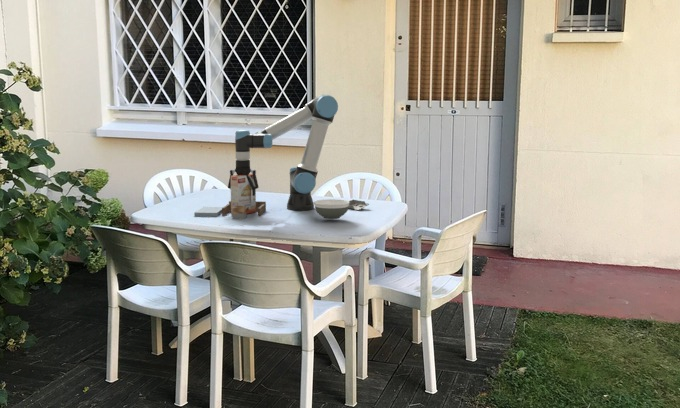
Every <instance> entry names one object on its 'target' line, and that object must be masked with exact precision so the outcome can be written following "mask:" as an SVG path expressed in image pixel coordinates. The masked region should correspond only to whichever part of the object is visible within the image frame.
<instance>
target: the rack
mask: <svg viewBox="0 0 680 408" xmlns="http://www.w3.org/2000/svg"><path fill="white" fill-rule="evenodd" d="M266 203H267V202H266V201H258V200H256V212H257V216H258V217H261V216H262V215H263V214H264V213H265V212H266V211H267V204H266ZM222 207H223V208H222V213H221V216H223V217H224V216H226V215H227V214H228V213H231V200H229V201H228V203H227V204H226V205H224V206H222Z"/></svg>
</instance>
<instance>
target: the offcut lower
mask: <svg viewBox="0 0 680 408" xmlns="http://www.w3.org/2000/svg"><path fill="white" fill-rule="evenodd" d="M231 215H232V216H231V217H232V219H233V220H240V219H241V220H244V219H245V218H247V214H246V212H245V213H244V214H233V213H232V214H231Z"/></svg>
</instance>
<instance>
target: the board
mask: <svg viewBox="0 0 680 408" xmlns="http://www.w3.org/2000/svg"><path fill="white" fill-rule="evenodd" d="M223 207H224V206H202V207H201V208H199V209H198V210H196V211H195V212H194V217H208V218H209V217H210V218H211V217H220V216H221V215H222V208H223Z"/></svg>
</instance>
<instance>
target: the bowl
mask: <svg viewBox="0 0 680 408" xmlns="http://www.w3.org/2000/svg"><path fill="white" fill-rule="evenodd" d="M349 201H350V200H346V199H334V198H333V199H319V200H314V201H313V203H314V210H315V212H316V213H317V214H318V215H319V216H321V217H323V219H326V220H334V219H335V220H336V219H340V218H341V217H342V216H344V215H346V213H347V212H348V210H349V208H348V206H349V203H350V202H349Z"/></svg>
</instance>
